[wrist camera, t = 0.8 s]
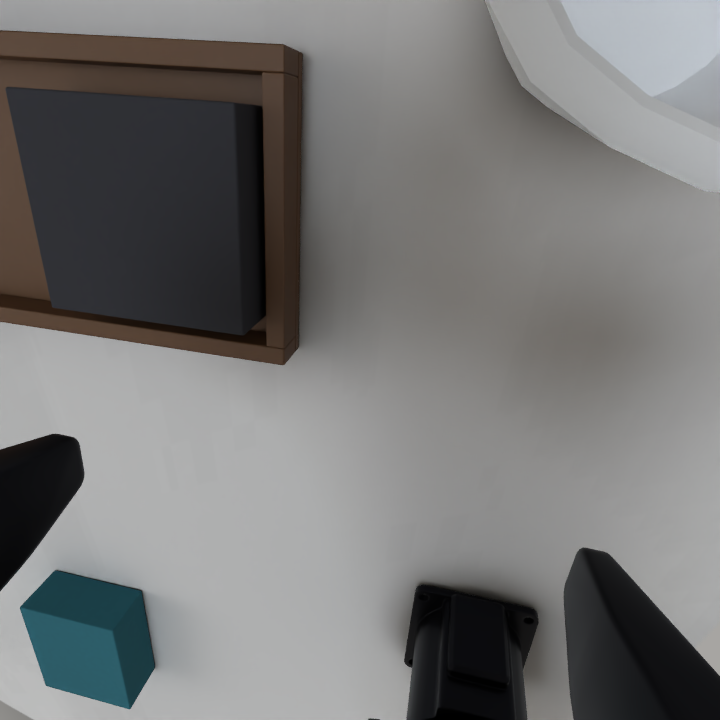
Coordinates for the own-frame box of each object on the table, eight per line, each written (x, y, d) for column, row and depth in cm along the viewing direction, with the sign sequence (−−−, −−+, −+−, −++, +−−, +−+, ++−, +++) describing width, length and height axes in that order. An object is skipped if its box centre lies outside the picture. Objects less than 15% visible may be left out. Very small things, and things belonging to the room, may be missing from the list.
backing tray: (299, 347, 23) (284, 366, 21) (-62, 294, 26) (-102, 306, 24) (303, 52, 18) (284, 44, 16) (-146, 29, 21) (-204, 19, 19)
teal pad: (155, 667, 36) (130, 709, 33) (76, 646, 37) (45, 686, 34) (141, 590, 33) (112, 631, 30) (54, 569, 34) (19, 607, 31)
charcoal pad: (271, 311, 22) (243, 336, 19) (99, 287, 23) (51, 308, 20) (269, 106, 18) (234, 102, 16) (67, 92, 20) (3, 86, 17)
